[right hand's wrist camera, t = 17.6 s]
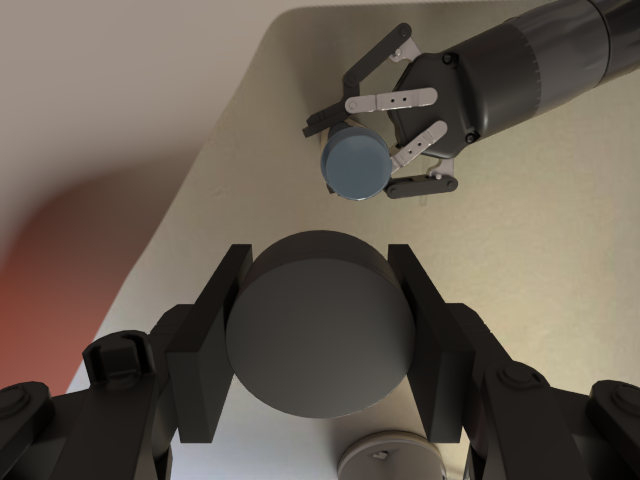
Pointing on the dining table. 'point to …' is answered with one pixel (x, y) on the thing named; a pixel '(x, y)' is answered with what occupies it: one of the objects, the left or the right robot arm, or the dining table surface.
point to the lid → (320, 326)
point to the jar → (354, 160)
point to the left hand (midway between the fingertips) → (317, 161)
